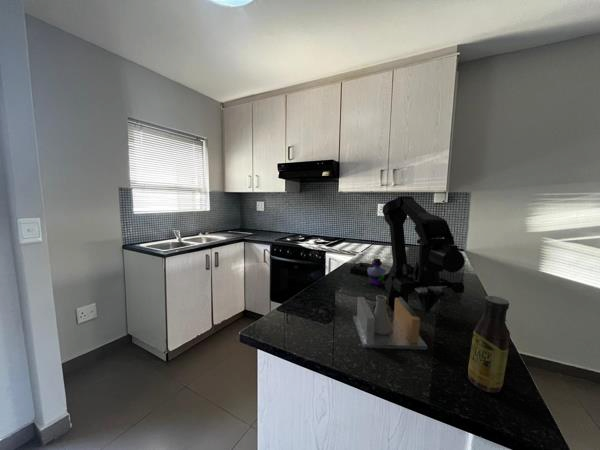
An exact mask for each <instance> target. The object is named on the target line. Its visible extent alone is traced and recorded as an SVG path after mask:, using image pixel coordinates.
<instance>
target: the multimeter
mask: <svg viewBox="0 0 600 450" xmlns="http://www.w3.org/2000/svg"><path fill="white" fill-rule="evenodd" d="M369 267H374V265H373V264H372V263H366V262H358V263H356V264H355V265H353V266H351V267H350V270H349V271H350V274H351V275H355V276H361V277H364V278H365V277H366V278H369V276H368V272H367V269H368V268H369ZM380 268H383V269H385V270H386V273H385V276H384V279H383V282H385V281H386V280H387V279H388V277H389V271H390V269H391V267H389V266H386V265H385V266H384V265H381V266H380Z"/></svg>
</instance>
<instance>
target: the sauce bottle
mask: <svg viewBox="0 0 600 450" xmlns="http://www.w3.org/2000/svg"><path fill="white" fill-rule="evenodd" d="M483 304H484V307H483V313H482V316H481V317H480V319H479V320H478V323H477V324H476V326H475V327H474V329H473V332H472V338H471V339H472V340H471V347H470V354H469V360H468V367H467V376H468V379H469V381H470V383H471V385H474V386H475V387H477V388H478V389H480V390H481V391H483V392H486V393H491V394H495V393H499V392H500V391H501V390H502V387H503V385H504V380H505V379H504V378H505V374H506V369H507V361H508V356H509V349H510V347H509V346H510V340H511V332H510V330H509V329H508V326H507V324H506V321H507V318H506V317H507V311H508V310H509V308H510V307H509V306H510V302H509V301H508V300H507V299H505V298H503V297H499V296H496V295H486V296H485V297H484V301H483Z"/></svg>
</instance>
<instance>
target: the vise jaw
mask: <svg viewBox="0 0 600 450" xmlns="http://www.w3.org/2000/svg"><path fill="white" fill-rule="evenodd" d="M393 317H394V319H395V320H396V322H397V323H398V325H399V326H400V328H401V329H402V331H403V332H404V334H405V335H406V337H407V338H408V340H409V341H410V343H418V340H419V336H420V325H421V323H420V322H421V319H420V317H418V315H417V314H416V311H415V310H414V309H413V308H412V307H411V306H410V305H409V303H408V304H407V303H406V302H405V300H404V299H403V298H402V297H399V298H395V306H394V310H393Z"/></svg>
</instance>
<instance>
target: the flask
mask: <svg viewBox="0 0 600 450" xmlns="http://www.w3.org/2000/svg"><path fill="white" fill-rule="evenodd" d="M375 299H376V304H375V308H374V311H373V312H372V314H373V316H374V318H375V325H374V333H377V334H380V335H383V334H391V332H392V326H391V323H390V320H389V317H390V316H389V313H388V311H387V303H386V301H387V295H386V296H385V295H379V294H378V295H376V296H375Z"/></svg>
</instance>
